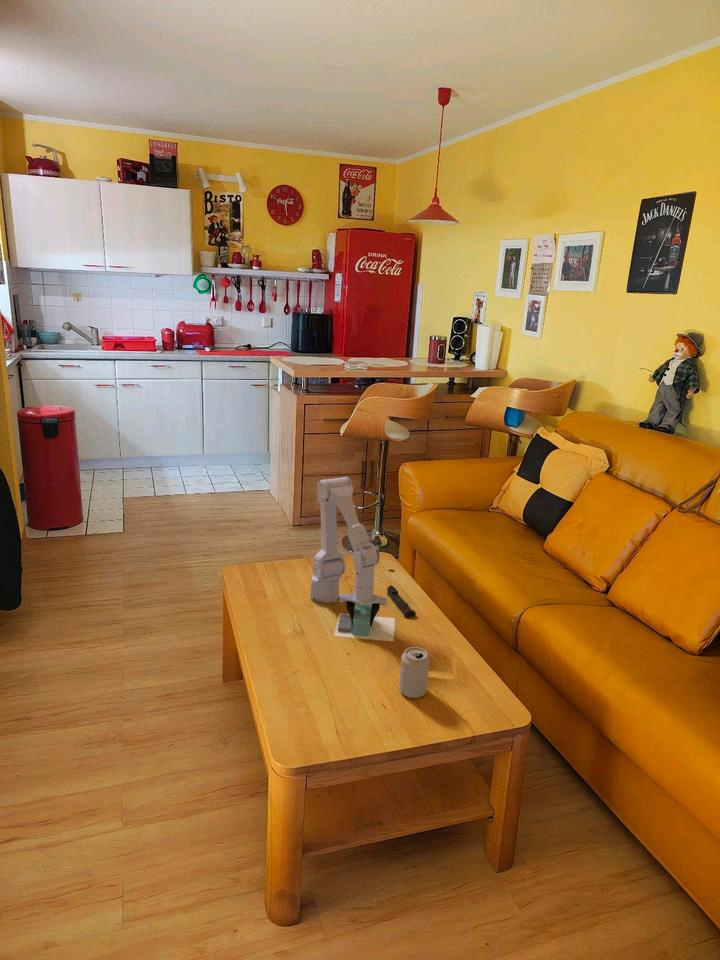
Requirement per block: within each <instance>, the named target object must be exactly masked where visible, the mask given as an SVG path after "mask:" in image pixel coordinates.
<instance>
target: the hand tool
mask: <svg viewBox="0 0 720 960" xmlns="http://www.w3.org/2000/svg"><path fill="white" fill-rule="evenodd" d="M386 591H387V592H386V593H387V596H388V597H389V598H390V600H391V601H392V602H393V604H394V605H395V606H396V607H397V608H398V610H399V611H400V612H401V613H402V614H403V618H414V617H415V616H416V615H417V612H416V611H415V610H413V609H412V608H411V607H410V606H409V603H408V602H406V601H405V600H404V599H403V598H402V597H401V596H400V594H399V590H398V589H397V588H395V587H394V586H393V585H389V586H387V589H386Z"/></svg>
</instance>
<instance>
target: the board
mask: <svg viewBox="0 0 720 960" xmlns="http://www.w3.org/2000/svg"><path fill="white" fill-rule="evenodd" d="M341 614H342V615H350V614H349V613H342V612H341V613H338V618H337V621H336V622H337V623H336V626H335V629H334V630H335V631H334V637H340V638H343V637H344V638H349V639H350V638H353V639H362V640H376V641H385V642H394V641H395V640H394V639H395V626H396V618H395V617H386V616H375V618H374V620H373V623H372V626H370V630H369V636H360V635H352V632H353V625H352V626H351V632H341V631H338V624H339V619H340V616H341Z"/></svg>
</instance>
